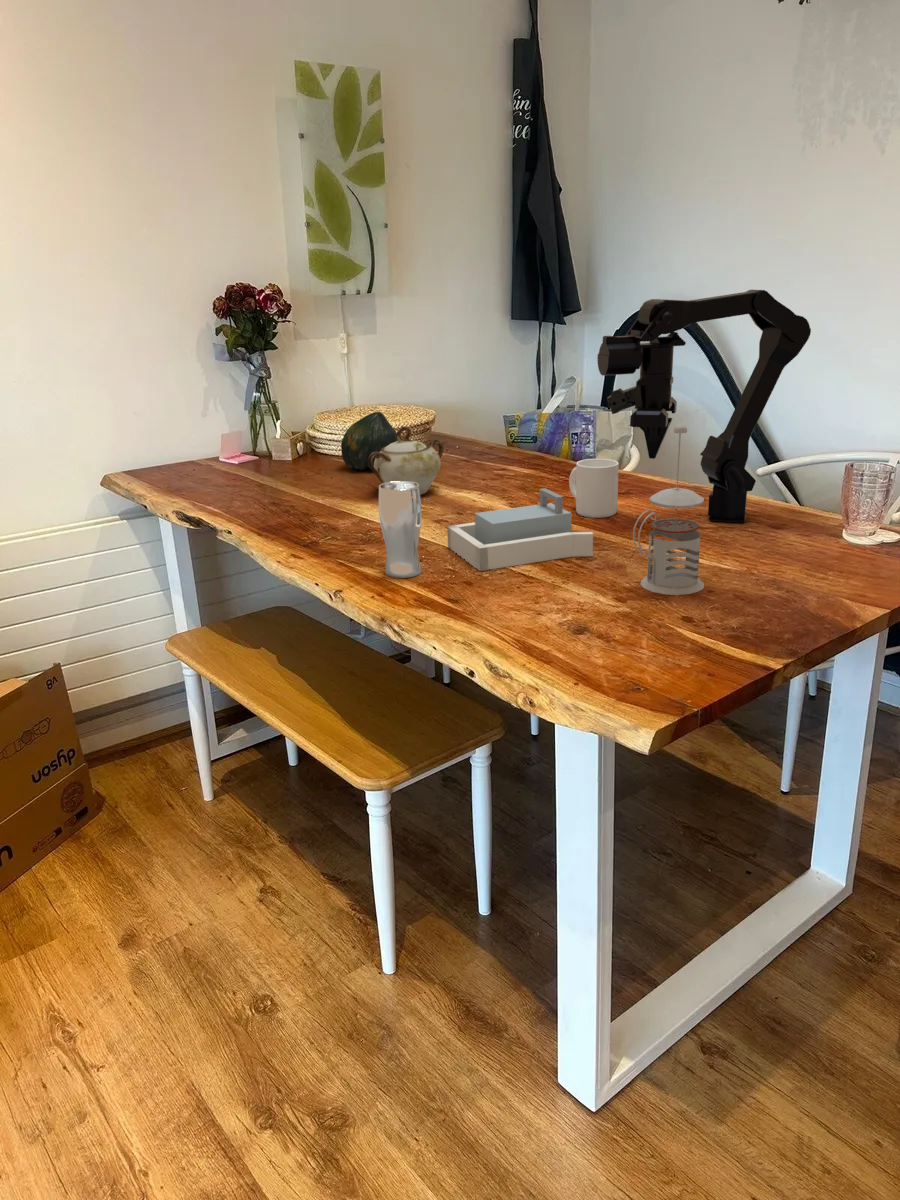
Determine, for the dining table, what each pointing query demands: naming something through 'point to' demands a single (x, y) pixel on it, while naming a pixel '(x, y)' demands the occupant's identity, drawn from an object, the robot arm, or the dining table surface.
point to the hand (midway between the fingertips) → (652, 458)
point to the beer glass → (400, 527)
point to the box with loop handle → (524, 521)
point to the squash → (366, 440)
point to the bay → (516, 548)
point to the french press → (673, 542)
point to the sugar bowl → (407, 461)
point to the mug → (595, 487)
